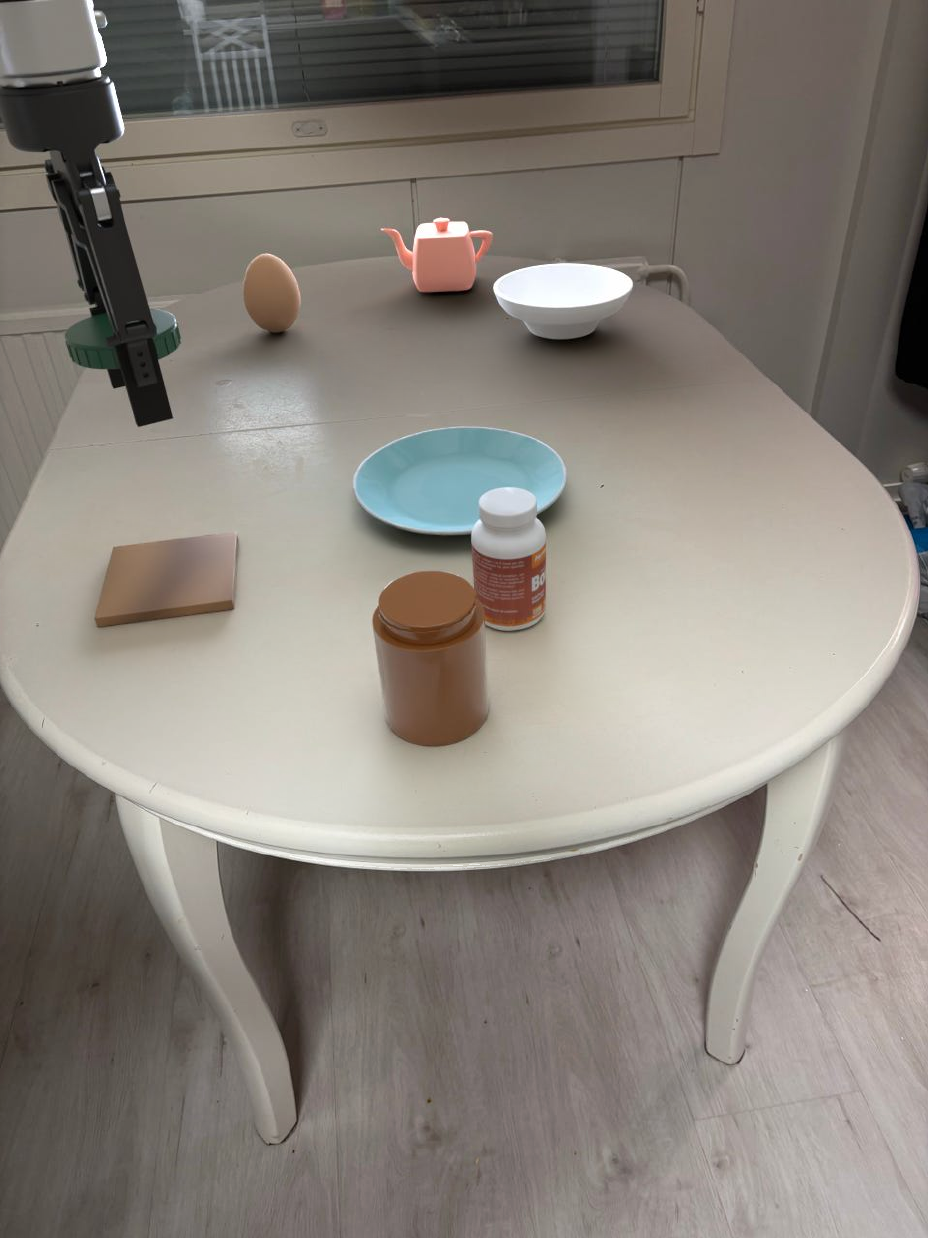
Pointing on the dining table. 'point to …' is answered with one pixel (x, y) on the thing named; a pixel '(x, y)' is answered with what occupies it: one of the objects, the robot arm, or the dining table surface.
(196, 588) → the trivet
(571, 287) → the bowl
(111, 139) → the robot arm
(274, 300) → the egg
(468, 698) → the jam jar
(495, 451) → the plate
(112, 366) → the jar lid
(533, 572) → the pill bottle
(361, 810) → the dining table surface
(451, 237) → the teapot
